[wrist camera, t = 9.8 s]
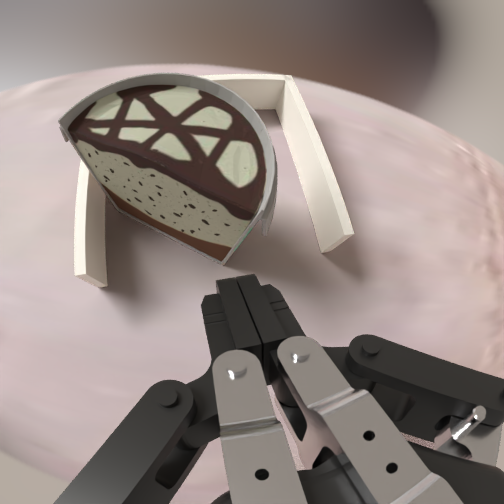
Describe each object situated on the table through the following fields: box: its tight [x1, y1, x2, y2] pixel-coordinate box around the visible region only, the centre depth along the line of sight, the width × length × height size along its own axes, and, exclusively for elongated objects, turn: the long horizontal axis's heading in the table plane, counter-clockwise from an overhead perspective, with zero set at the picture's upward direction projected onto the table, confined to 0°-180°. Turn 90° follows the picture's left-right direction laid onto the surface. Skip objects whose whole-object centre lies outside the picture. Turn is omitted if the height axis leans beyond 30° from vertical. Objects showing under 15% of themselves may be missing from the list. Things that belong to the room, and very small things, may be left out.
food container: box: [58, 73, 277, 266], centre depth 16 cm, size 12×6×10 cm, turn 66°
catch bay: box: [74, 74, 354, 288], centre depth 19 cm, size 18×16×4 cm
